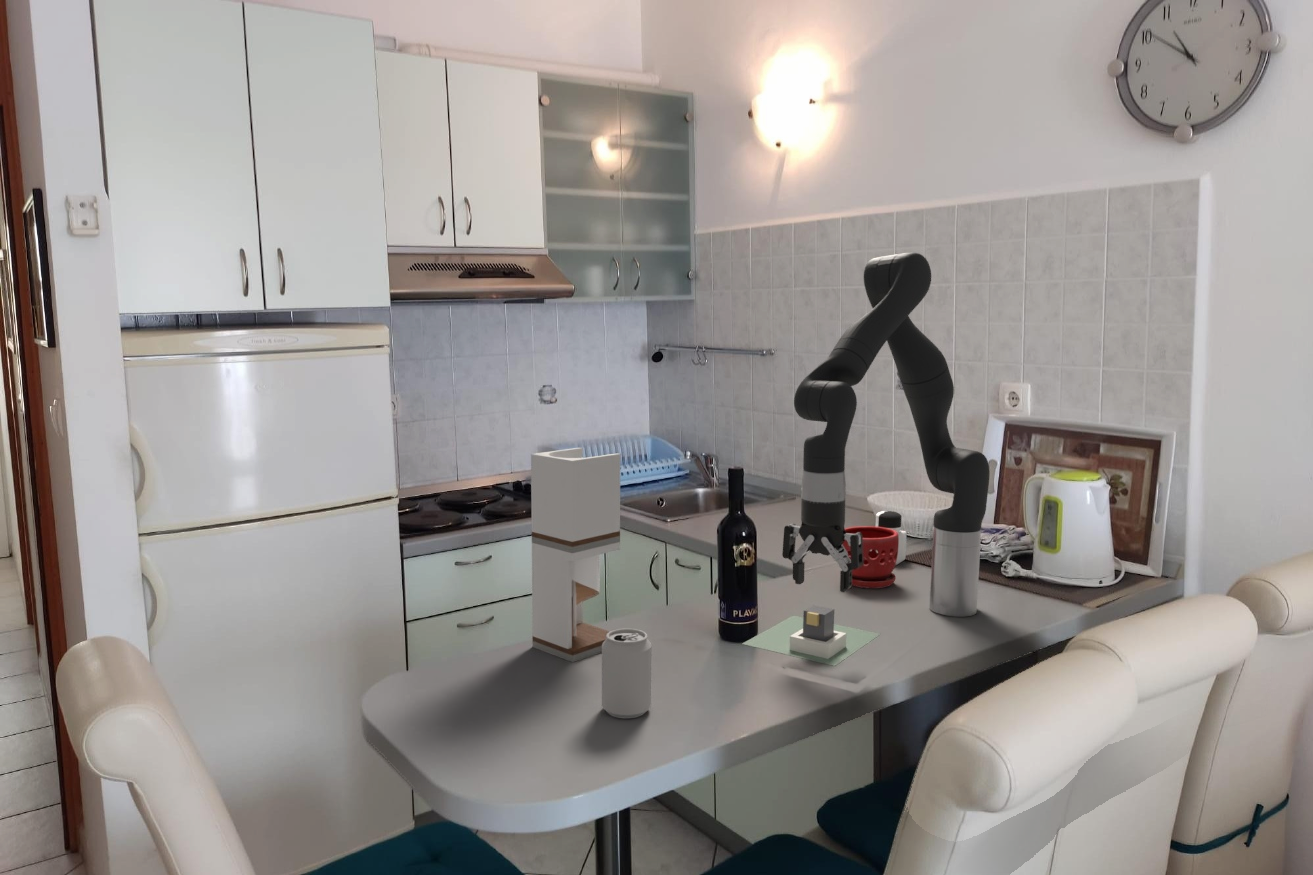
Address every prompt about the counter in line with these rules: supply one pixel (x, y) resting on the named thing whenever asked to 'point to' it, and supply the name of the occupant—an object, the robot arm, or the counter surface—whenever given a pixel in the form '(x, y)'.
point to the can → (626, 673)
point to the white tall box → (570, 545)
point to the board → (811, 642)
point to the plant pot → (875, 556)
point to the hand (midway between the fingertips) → (821, 587)
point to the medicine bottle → (893, 522)
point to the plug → (818, 623)
